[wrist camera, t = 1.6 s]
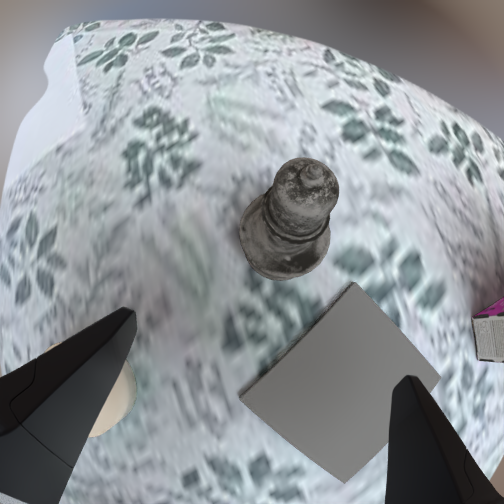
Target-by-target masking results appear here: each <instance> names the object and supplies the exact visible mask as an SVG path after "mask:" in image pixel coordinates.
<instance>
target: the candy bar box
mask: <svg viewBox="0 0 504 504" xmlns="http://www.w3.org/2000/svg"><path fill="white" fill-rule="evenodd" d="M472 325H473V331H474V335H475V341H476V350H477V357H478V361H488V362H500V363H504V297H503V298H501V299H500V300H498V301H497V302H495V303H494V304H493V305H491V306H489V307H488V308H486V309H485V310H483V311H482V312H480V313H478V314H477V315H475V316H473V317H472Z"/></svg>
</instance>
